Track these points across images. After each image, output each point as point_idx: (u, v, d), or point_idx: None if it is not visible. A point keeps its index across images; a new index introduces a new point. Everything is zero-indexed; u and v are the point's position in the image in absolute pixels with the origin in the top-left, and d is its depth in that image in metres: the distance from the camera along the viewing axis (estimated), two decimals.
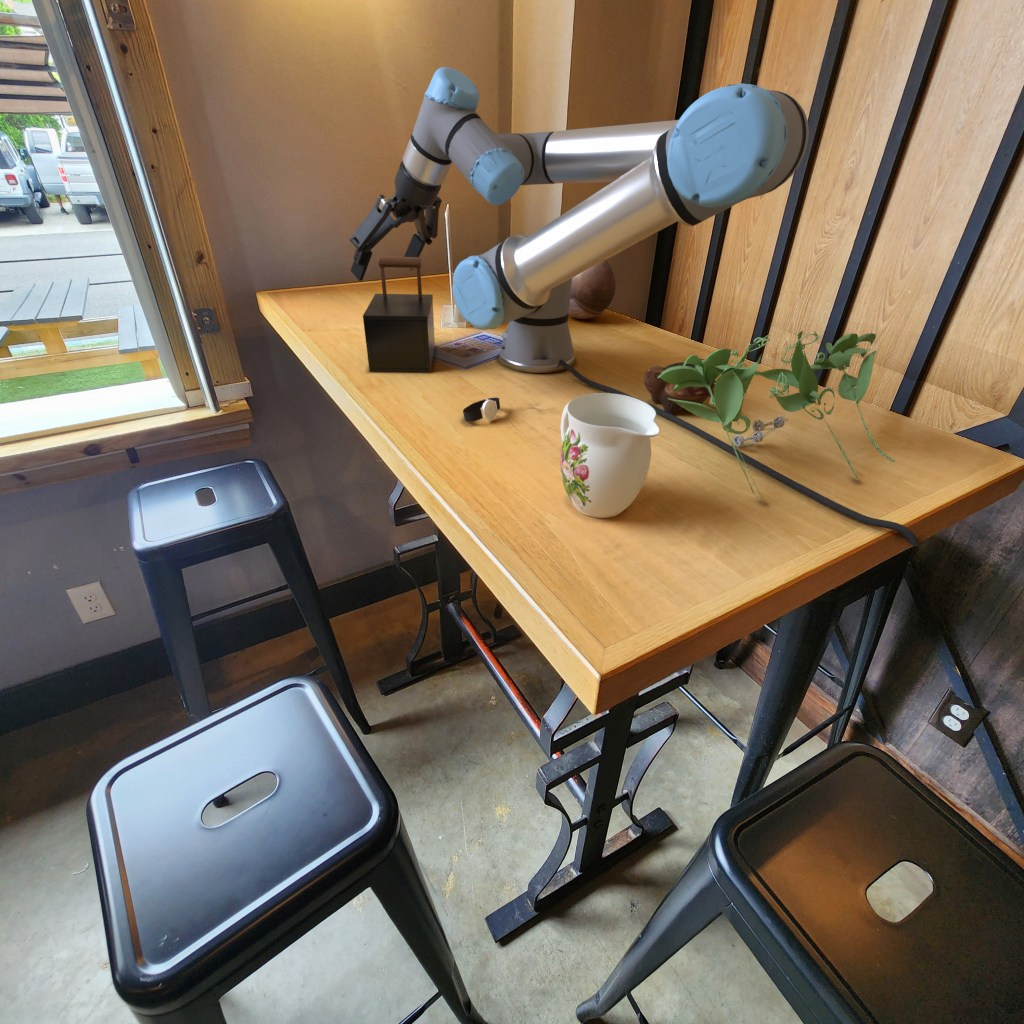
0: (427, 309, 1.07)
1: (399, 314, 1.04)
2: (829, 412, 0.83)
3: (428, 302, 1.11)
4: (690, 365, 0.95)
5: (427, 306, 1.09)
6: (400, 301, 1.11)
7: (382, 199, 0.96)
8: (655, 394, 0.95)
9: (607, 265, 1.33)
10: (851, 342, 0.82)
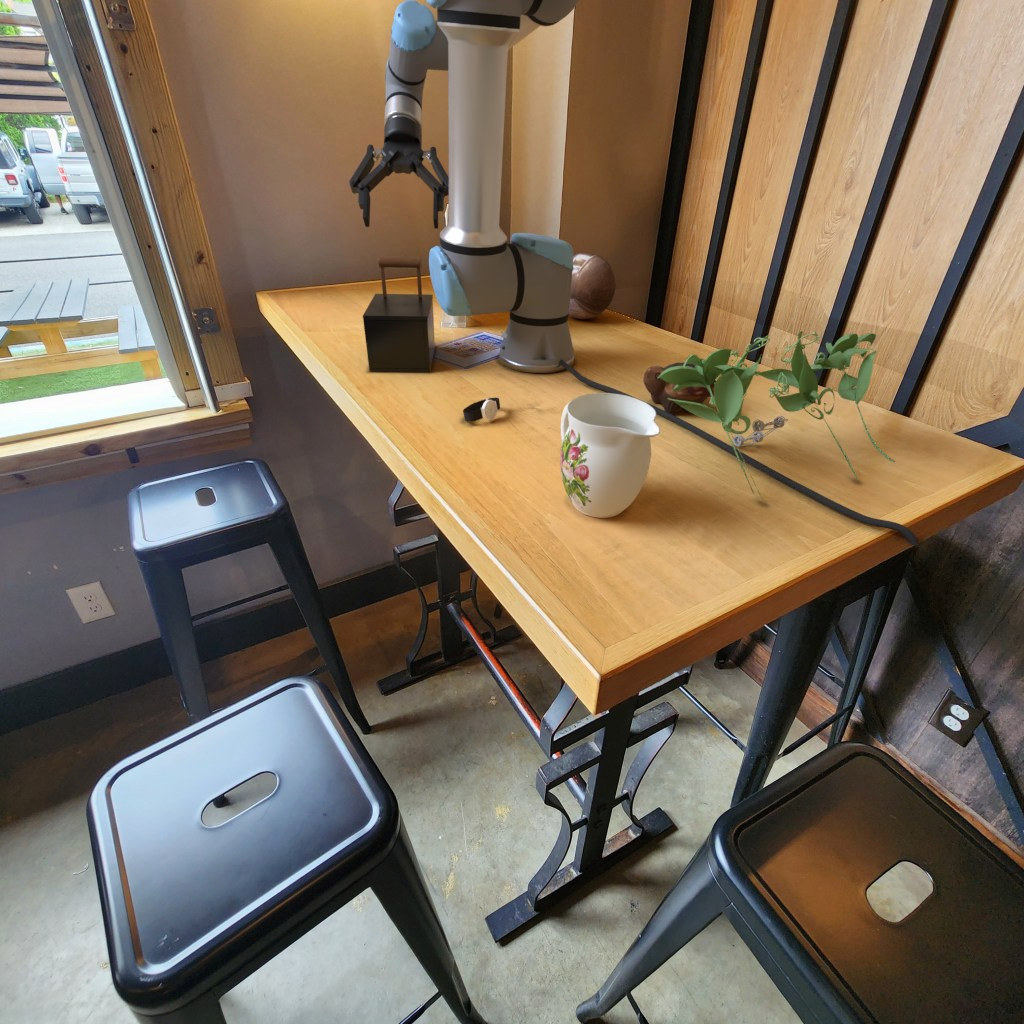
0: (427, 309, 1.07)
1: (399, 314, 1.04)
2: (829, 412, 0.83)
3: (428, 302, 1.11)
4: (690, 365, 0.95)
5: (427, 306, 1.09)
6: (400, 301, 1.11)
7: None
8: (655, 394, 0.95)
9: (607, 265, 1.33)
10: (851, 342, 0.82)
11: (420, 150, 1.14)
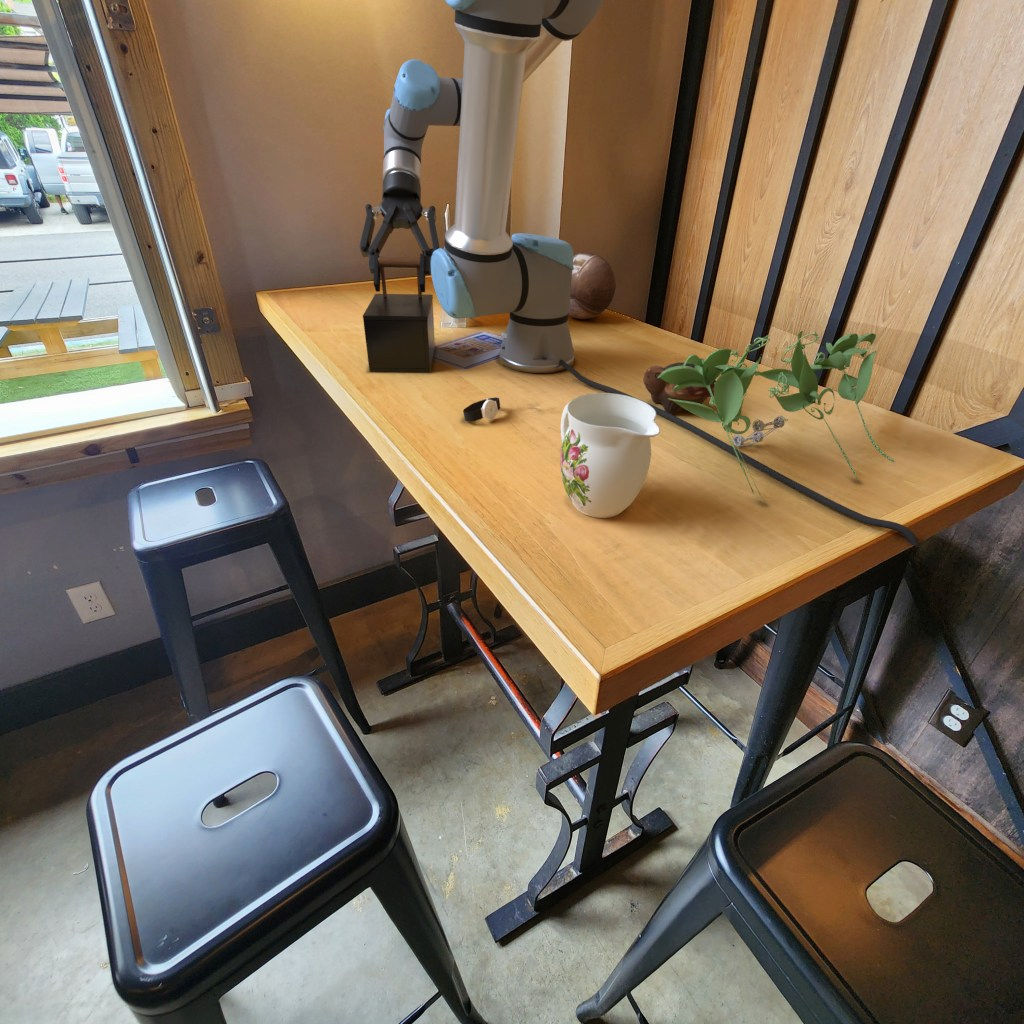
0: (427, 309, 1.07)
1: (399, 314, 1.04)
2: (829, 412, 0.83)
3: (428, 302, 1.11)
4: (690, 365, 0.95)
5: (427, 306, 1.09)
6: (400, 301, 1.11)
7: None
8: (655, 394, 0.95)
9: (607, 265, 1.33)
10: (851, 342, 0.82)
11: (419, 205, 1.11)
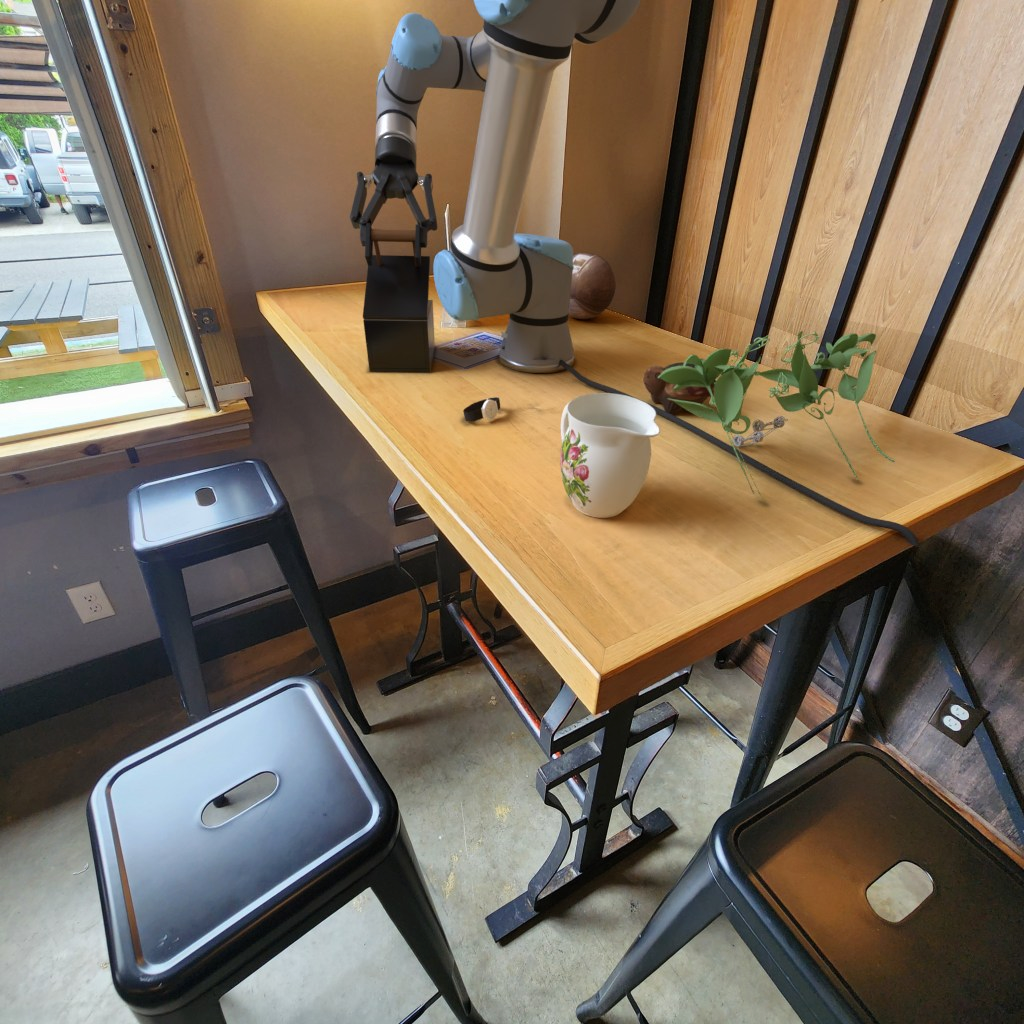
0: (426, 298, 1.05)
1: (399, 312, 1.03)
2: (829, 412, 0.83)
3: (426, 279, 1.07)
4: (690, 365, 0.95)
5: (426, 290, 1.06)
6: (397, 276, 1.07)
7: None
8: (655, 394, 0.95)
9: (607, 265, 1.33)
10: (851, 342, 0.82)
11: (414, 173, 1.04)
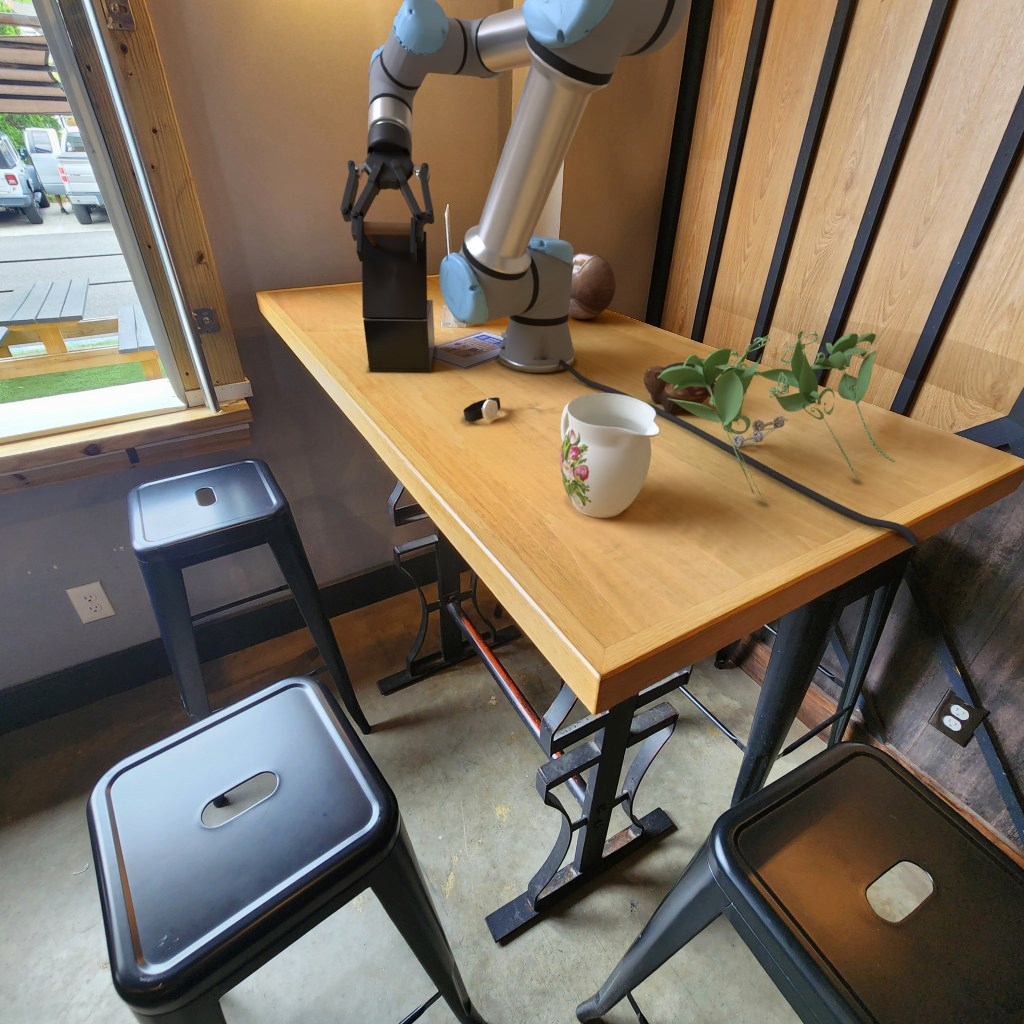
0: (425, 292, 1.03)
1: (398, 312, 1.03)
2: (829, 412, 0.83)
3: (424, 265, 1.03)
4: (690, 365, 0.95)
5: (424, 281, 1.03)
6: (393, 262, 1.02)
7: None
8: (655, 394, 0.95)
9: (607, 265, 1.33)
10: (851, 342, 0.82)
11: (410, 162, 0.96)
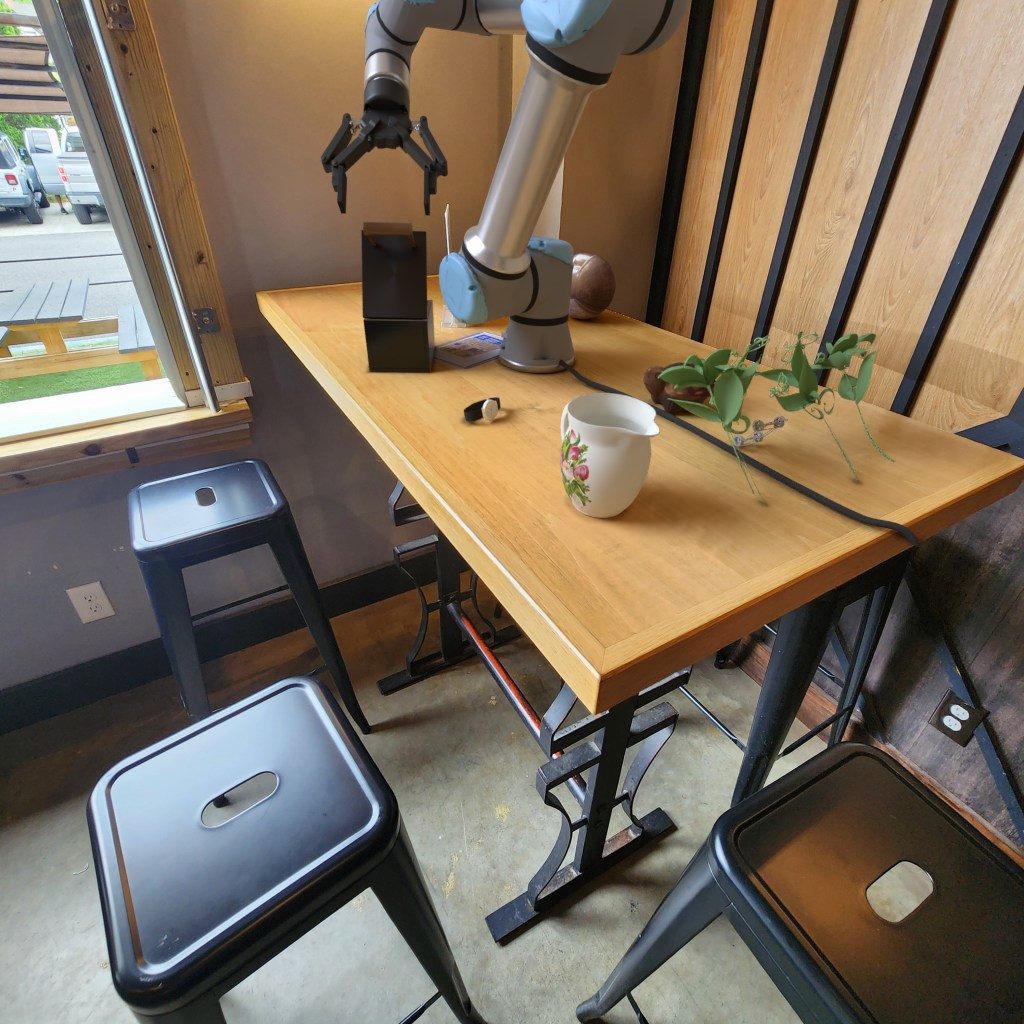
0: (425, 292, 1.03)
1: (398, 312, 1.03)
2: (829, 412, 0.83)
3: (424, 265, 1.03)
4: (690, 365, 0.95)
5: (424, 281, 1.03)
6: (393, 262, 1.02)
7: None
8: (655, 394, 0.95)
9: (607, 265, 1.33)
10: (851, 342, 0.82)
11: (408, 120, 0.93)
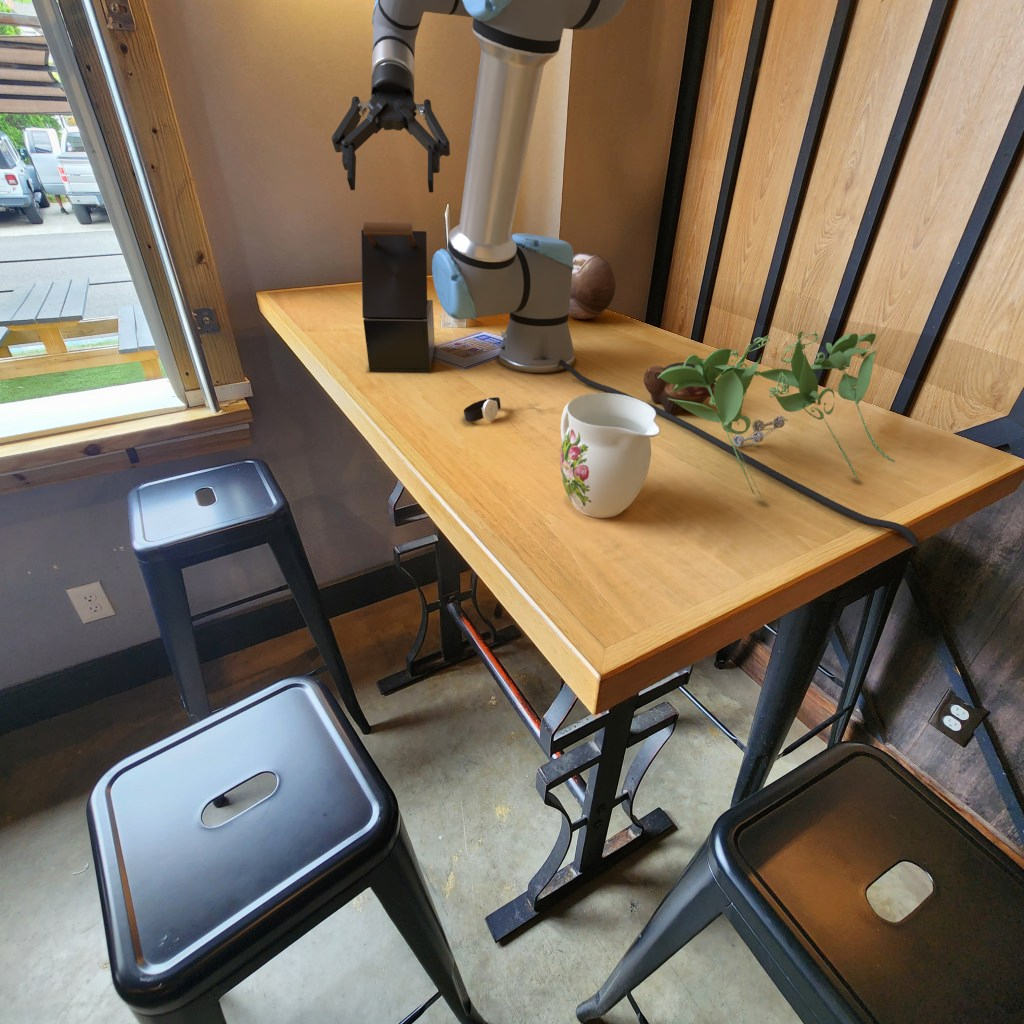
0: (425, 292, 1.03)
1: (398, 312, 1.03)
2: (829, 412, 0.83)
3: (424, 265, 1.03)
4: (690, 365, 0.95)
5: (424, 281, 1.03)
6: (393, 262, 1.02)
7: None
8: (655, 394, 0.95)
9: (607, 265, 1.33)
10: (851, 342, 0.82)
11: (412, 103, 1.00)
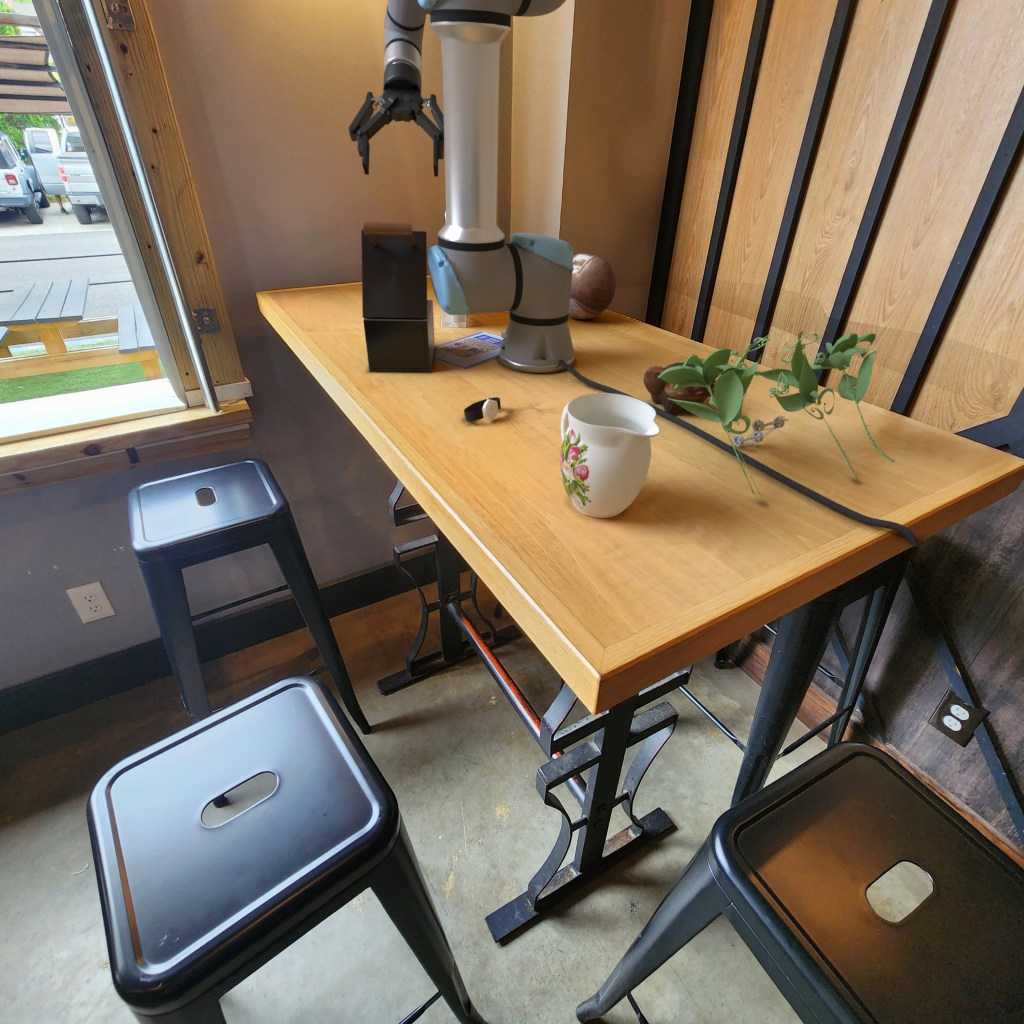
0: (425, 292, 1.03)
1: (398, 312, 1.03)
2: (829, 412, 0.83)
3: (424, 265, 1.03)
4: (690, 365, 0.95)
5: (424, 281, 1.03)
6: (393, 262, 1.02)
7: None
8: (655, 394, 0.95)
9: (607, 265, 1.33)
10: (851, 342, 0.82)
11: (420, 97, 1.13)
